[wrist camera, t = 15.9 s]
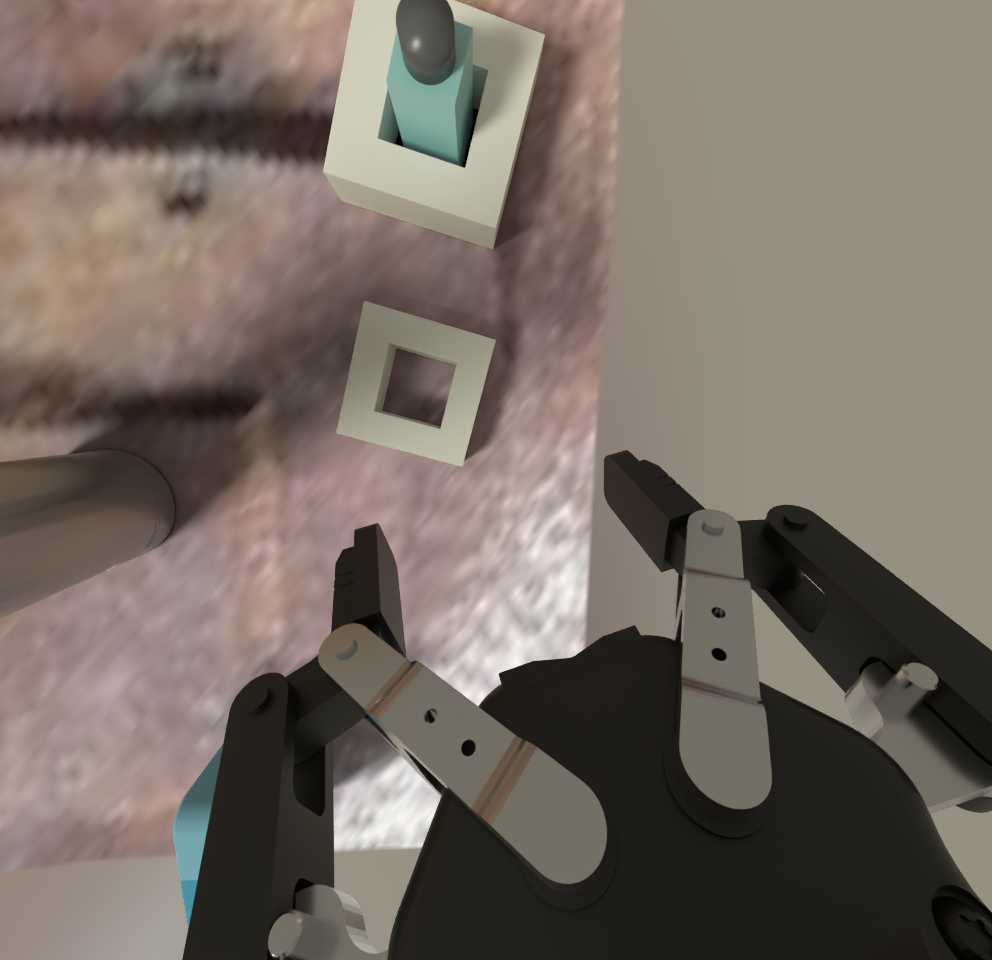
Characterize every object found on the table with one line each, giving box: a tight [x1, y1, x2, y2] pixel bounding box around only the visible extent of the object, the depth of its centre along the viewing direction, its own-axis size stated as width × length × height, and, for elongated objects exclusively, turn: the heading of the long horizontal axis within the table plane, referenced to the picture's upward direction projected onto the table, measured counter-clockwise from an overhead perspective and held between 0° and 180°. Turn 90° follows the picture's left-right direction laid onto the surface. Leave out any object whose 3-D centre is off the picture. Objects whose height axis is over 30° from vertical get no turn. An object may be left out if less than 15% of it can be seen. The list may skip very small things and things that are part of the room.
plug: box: [386, 0, 473, 167], centre depth 26 cm, size 4×4×10 cm
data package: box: [173, 745, 223, 928], centre depth 34 cm, size 12×4×12 cm, turn 0°
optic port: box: [323, 0, 545, 250], centre depth 29 cm, size 12×12×4 cm
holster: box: [336, 301, 496, 466], centre depth 33 cm, size 10×10×3 cm
